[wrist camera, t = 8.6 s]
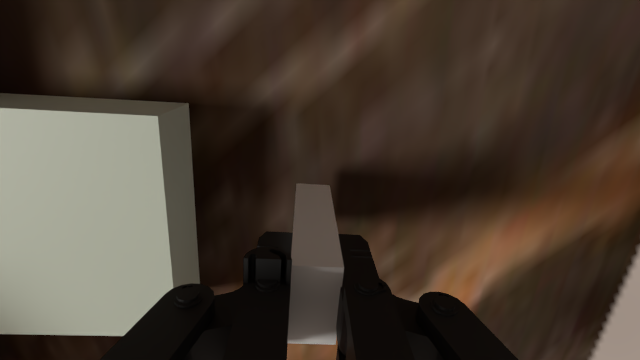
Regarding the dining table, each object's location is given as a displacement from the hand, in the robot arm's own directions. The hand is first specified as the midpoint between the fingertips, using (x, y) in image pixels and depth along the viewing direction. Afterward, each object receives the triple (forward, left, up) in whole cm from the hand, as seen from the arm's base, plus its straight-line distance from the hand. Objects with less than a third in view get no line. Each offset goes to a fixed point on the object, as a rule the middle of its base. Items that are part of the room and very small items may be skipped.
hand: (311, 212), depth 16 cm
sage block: (+12, +1, -2) cm, 12 cm away
